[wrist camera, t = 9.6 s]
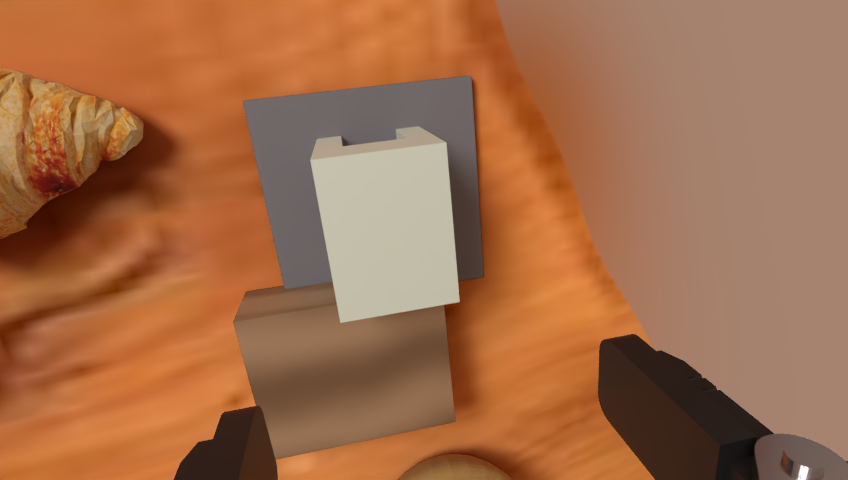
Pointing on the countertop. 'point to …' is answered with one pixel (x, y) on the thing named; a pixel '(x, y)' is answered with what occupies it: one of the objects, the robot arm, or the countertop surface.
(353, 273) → the notched cream block
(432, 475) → the pot
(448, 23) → the countertop surface
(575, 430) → the countertop surface
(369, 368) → the tan square slab
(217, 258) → the countertop surface
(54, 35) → the countertop surface
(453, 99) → the felt pad
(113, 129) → the croissant
